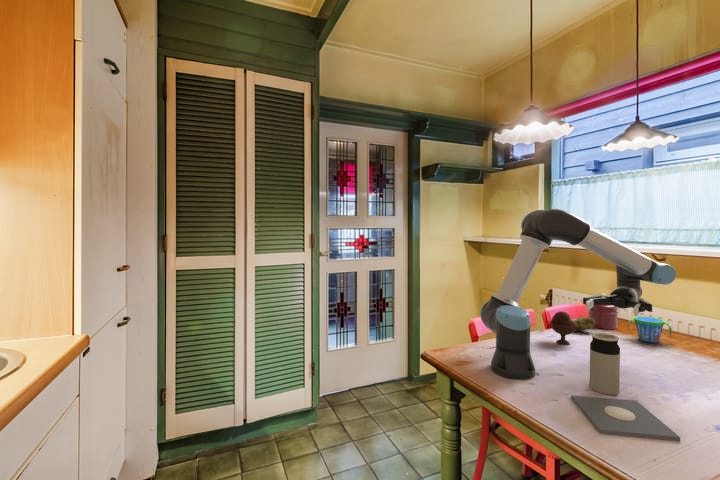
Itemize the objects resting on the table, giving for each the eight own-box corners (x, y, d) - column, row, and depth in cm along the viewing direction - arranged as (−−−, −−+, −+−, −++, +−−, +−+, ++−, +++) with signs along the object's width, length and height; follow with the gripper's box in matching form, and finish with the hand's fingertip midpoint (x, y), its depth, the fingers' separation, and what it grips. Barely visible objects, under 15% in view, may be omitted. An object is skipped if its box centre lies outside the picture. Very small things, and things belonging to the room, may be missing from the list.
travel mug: (625, 396, 106) (626, 340, 105) (599, 395, 106) (600, 340, 106) (608, 384, 114) (609, 332, 113) (584, 383, 114) (584, 332, 114)
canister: (600, 330, 171) (601, 296, 171) (582, 323, 184) (582, 291, 183) (624, 329, 172) (625, 295, 172) (604, 322, 185) (604, 290, 185)
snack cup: (626, 339, 157) (626, 318, 156) (628, 334, 164) (628, 314, 164) (671, 347, 146) (672, 324, 146) (671, 341, 154) (672, 319, 153)
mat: (599, 433, 87) (600, 428, 87) (570, 398, 105) (570, 394, 105) (680, 441, 84) (680, 436, 84) (636, 403, 101) (636, 399, 101)
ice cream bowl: (581, 348, 147) (582, 314, 147) (554, 346, 149) (554, 313, 149) (571, 340, 158) (571, 308, 157) (545, 338, 160) (546, 307, 159)
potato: (567, 327, 178) (568, 312, 177) (596, 332, 168) (597, 316, 168) (562, 330, 172) (562, 315, 172) (592, 336, 162) (592, 320, 162)
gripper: (667, 311, 121) (658, 325, 107) (586, 302, 139) (570, 314, 125) (666, 290, 121) (657, 302, 106) (585, 285, 139) (569, 294, 125)
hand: (610, 308), depth 116 cm, fingers open, 13 cm apart
